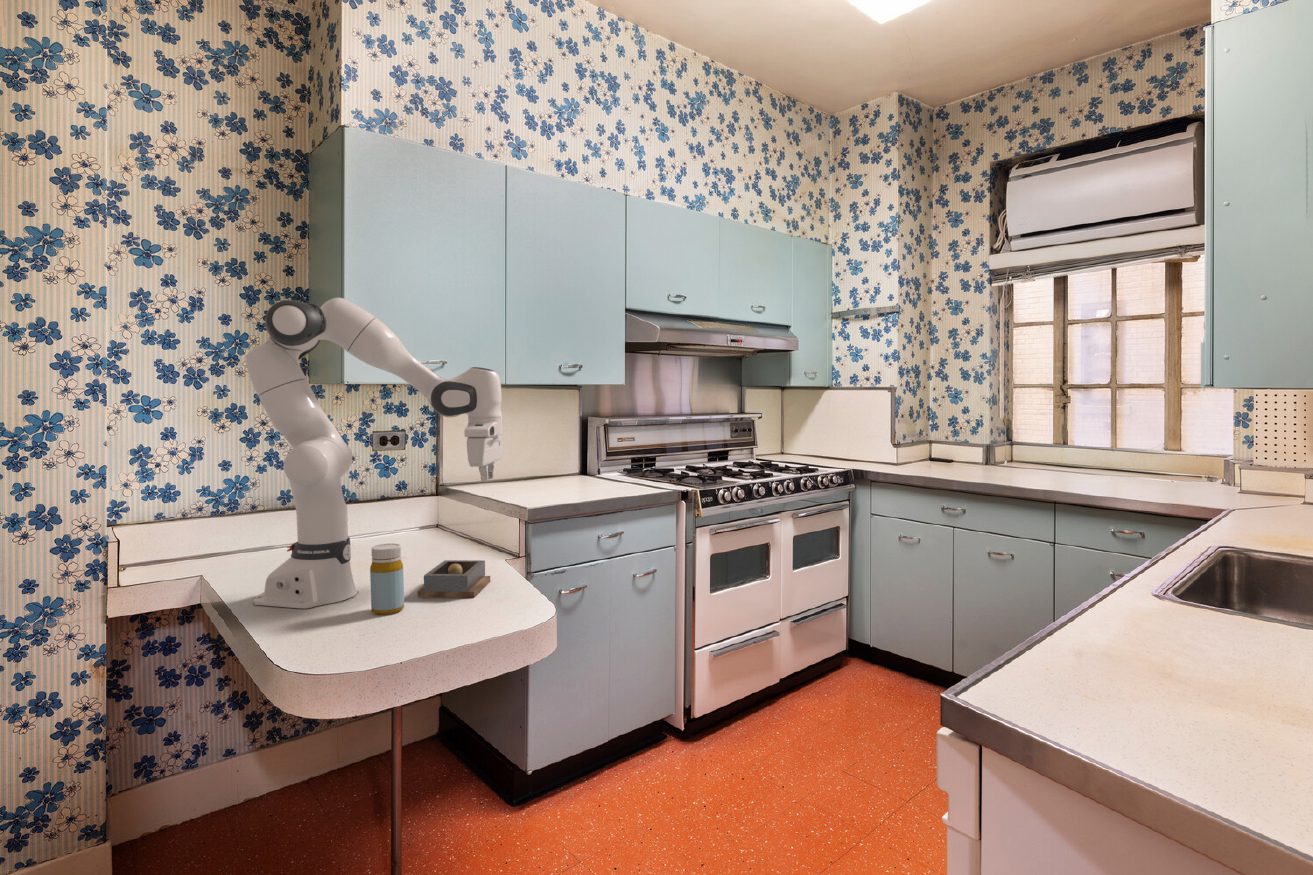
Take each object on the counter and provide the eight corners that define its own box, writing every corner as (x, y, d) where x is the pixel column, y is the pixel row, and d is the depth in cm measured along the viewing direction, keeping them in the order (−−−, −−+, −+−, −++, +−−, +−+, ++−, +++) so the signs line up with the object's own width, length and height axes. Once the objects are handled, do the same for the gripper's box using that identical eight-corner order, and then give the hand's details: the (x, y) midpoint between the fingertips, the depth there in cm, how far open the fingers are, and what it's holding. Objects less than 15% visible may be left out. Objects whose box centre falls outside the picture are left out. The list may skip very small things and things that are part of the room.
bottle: (392, 616, 147) (390, 550, 146) (364, 614, 148) (362, 549, 147) (410, 606, 154) (408, 543, 153) (383, 605, 155) (381, 542, 154)
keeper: (417, 597, 161) (417, 570, 160) (438, 581, 175) (437, 556, 174) (474, 597, 160) (473, 571, 160) (490, 581, 174) (489, 557, 174)
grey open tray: (424, 591, 161) (423, 575, 160) (445, 575, 175) (444, 560, 175) (467, 591, 160) (467, 575, 160) (485, 575, 175) (484, 560, 175)
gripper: (485, 426, 185) (486, 475, 186) (461, 430, 165) (463, 485, 166) (507, 426, 185) (508, 474, 186) (486, 430, 165) (488, 485, 166)
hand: (487, 479), depth 176 cm, fingers open, 3 cm apart
